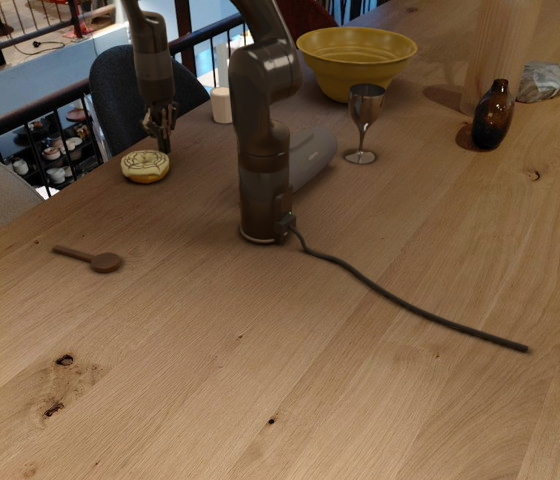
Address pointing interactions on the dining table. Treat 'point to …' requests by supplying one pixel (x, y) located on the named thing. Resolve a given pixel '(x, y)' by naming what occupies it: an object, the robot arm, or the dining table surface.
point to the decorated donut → (145, 165)
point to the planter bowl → (354, 57)
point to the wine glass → (364, 115)
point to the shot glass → (221, 104)
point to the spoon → (93, 259)
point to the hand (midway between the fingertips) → (165, 152)
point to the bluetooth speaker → (310, 154)
